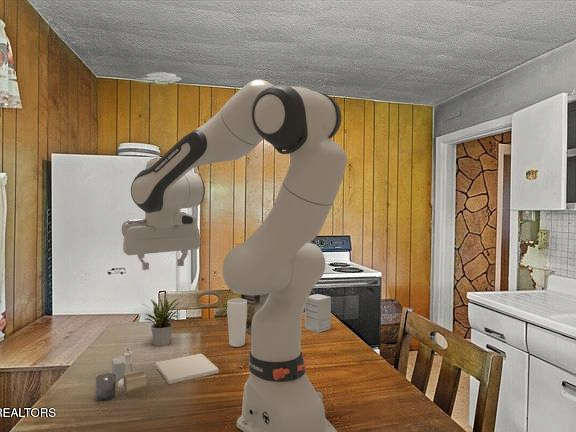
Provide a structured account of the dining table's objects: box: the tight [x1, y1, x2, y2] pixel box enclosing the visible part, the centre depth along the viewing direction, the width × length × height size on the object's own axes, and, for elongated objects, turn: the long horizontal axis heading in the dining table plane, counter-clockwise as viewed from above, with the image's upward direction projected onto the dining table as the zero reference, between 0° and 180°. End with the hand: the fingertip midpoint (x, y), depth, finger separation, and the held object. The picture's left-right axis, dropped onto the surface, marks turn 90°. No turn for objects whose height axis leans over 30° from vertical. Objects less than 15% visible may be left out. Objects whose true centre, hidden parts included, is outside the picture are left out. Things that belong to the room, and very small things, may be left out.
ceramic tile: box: [155, 353, 220, 385], centre depth 113 cm, size 14×14×1 cm
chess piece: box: [117, 345, 133, 389], centre depth 104 cm, size 5×5×10 cm
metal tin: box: [95, 372, 117, 403], centre depth 96 cm, size 4×4×5 cm
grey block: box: [111, 356, 133, 381], centre depth 109 cm, size 4×4×4 cm
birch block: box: [123, 369, 147, 399], centre depth 99 cm, size 4×4×4 cm
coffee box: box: [240, 293, 269, 334], centre depth 149 cm, size 9×6×16 cm
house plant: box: [142, 296, 184, 347], centre depth 135 cm, size 14×14×16 cm
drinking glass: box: [226, 298, 247, 348], centre depth 134 cm, size 7×7×15 cm
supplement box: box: [304, 293, 332, 334], centre depth 152 cm, size 7×7×13 cm
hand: (163, 267), depth 109 cm, fingers open, 8 cm apart
